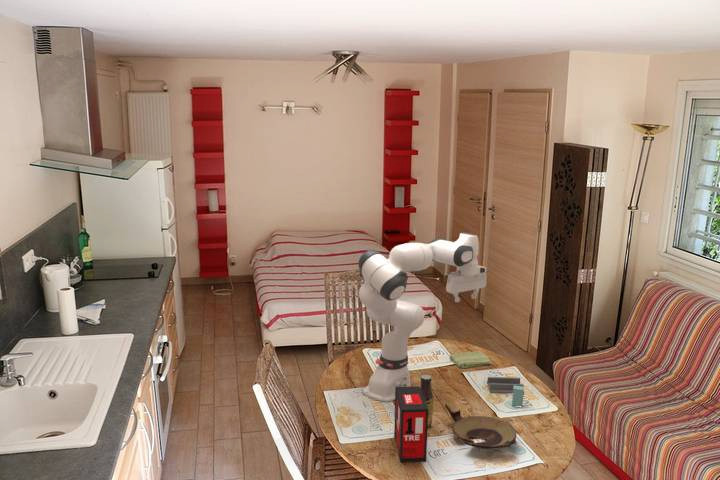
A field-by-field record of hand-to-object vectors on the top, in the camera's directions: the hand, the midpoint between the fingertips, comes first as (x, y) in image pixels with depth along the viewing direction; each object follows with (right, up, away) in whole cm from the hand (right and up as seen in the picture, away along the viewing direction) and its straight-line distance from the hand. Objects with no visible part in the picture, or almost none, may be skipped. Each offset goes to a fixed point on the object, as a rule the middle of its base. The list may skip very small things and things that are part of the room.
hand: (465, 300), depth 258 cm
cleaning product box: (-28, -49, -46) cm, 73 cm away
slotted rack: (+17, -38, -1) cm, 42 cm away
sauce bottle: (-21, -45, -30) cm, 58 cm away
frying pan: (-1, -47, -38) cm, 61 cm away
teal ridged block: (+19, -42, -15) cm, 48 cm away
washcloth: (+7, -33, +26) cm, 42 cm away
